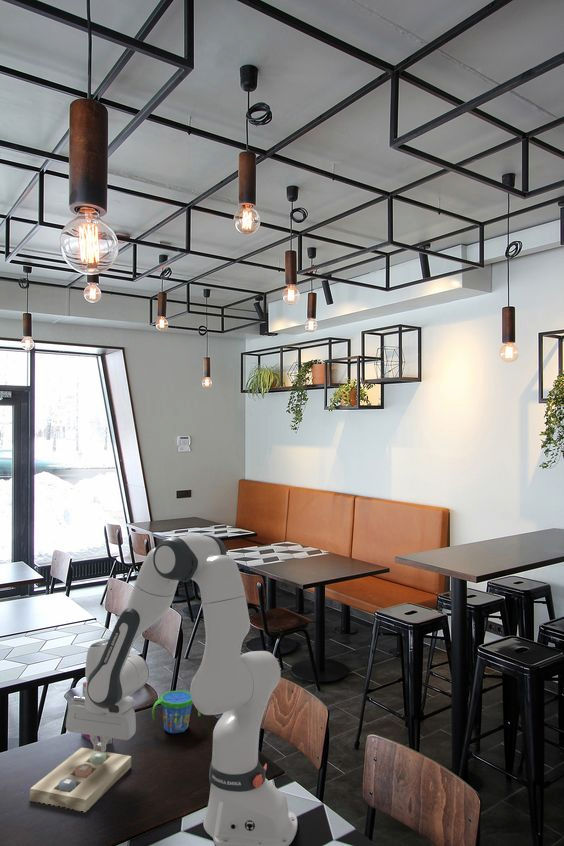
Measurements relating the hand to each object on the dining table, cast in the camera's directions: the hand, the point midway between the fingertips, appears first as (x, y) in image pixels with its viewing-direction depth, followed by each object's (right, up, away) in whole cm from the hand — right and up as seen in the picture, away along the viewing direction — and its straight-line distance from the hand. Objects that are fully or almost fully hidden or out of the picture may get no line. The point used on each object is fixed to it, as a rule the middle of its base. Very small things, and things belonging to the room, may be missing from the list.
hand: (99, 750), depth 165 cm
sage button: (-1, -5, 0) cm, 5 cm away
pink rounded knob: (-2, -5, -7) cm, 8 cm away
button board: (-2, -5, -7) cm, 9 cm away
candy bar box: (-6, -6, +17) cm, 19 cm away
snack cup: (+17, -7, +25) cm, 31 cm away
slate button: (-4, -4, -13) cm, 15 cm away
